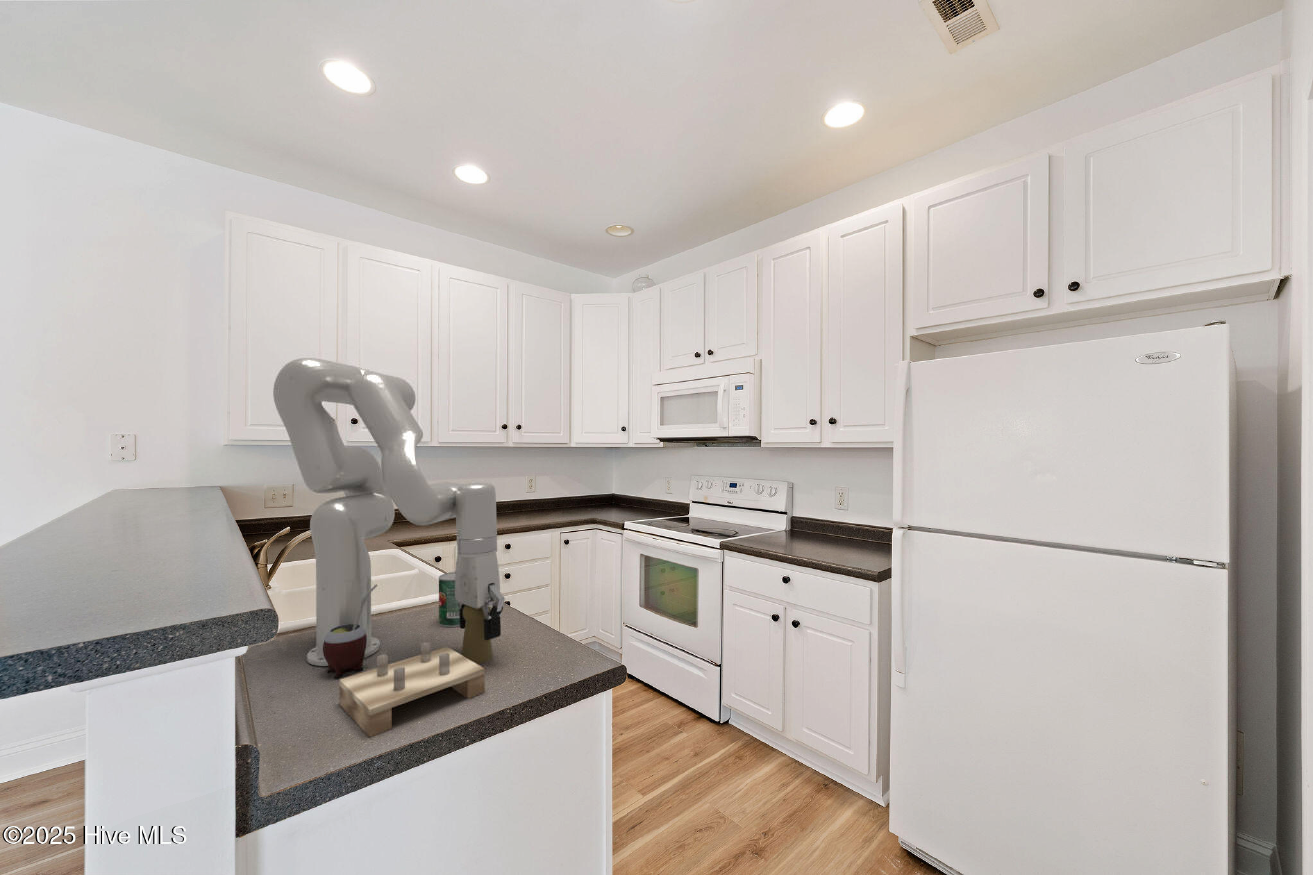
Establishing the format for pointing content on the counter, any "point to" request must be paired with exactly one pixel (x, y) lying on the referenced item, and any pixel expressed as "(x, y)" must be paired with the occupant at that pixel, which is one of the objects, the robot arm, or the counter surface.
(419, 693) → the wooden board with pegs
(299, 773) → the counter surface
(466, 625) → the olive chess pawn
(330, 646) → the mate gourd
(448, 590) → the canned tomato
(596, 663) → the counter surface
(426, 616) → the counter surface
